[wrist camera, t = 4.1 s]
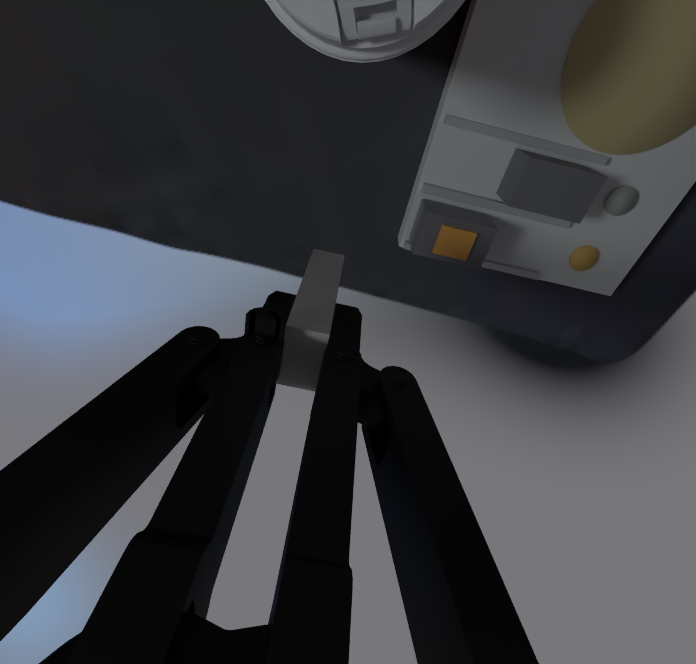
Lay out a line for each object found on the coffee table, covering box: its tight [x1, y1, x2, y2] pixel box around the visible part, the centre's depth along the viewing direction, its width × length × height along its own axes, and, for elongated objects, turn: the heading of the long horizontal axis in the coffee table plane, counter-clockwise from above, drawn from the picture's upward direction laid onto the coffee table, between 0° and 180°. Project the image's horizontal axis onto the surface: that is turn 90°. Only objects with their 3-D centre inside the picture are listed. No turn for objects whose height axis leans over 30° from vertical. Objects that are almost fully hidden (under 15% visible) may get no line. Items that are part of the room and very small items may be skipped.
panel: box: [398, 0, 696, 296], centre depth 24 cm, size 18×20×5 cm
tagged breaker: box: [409, 199, 498, 270], centre depth 27 cm, size 5×3×3 cm, turn 78°
